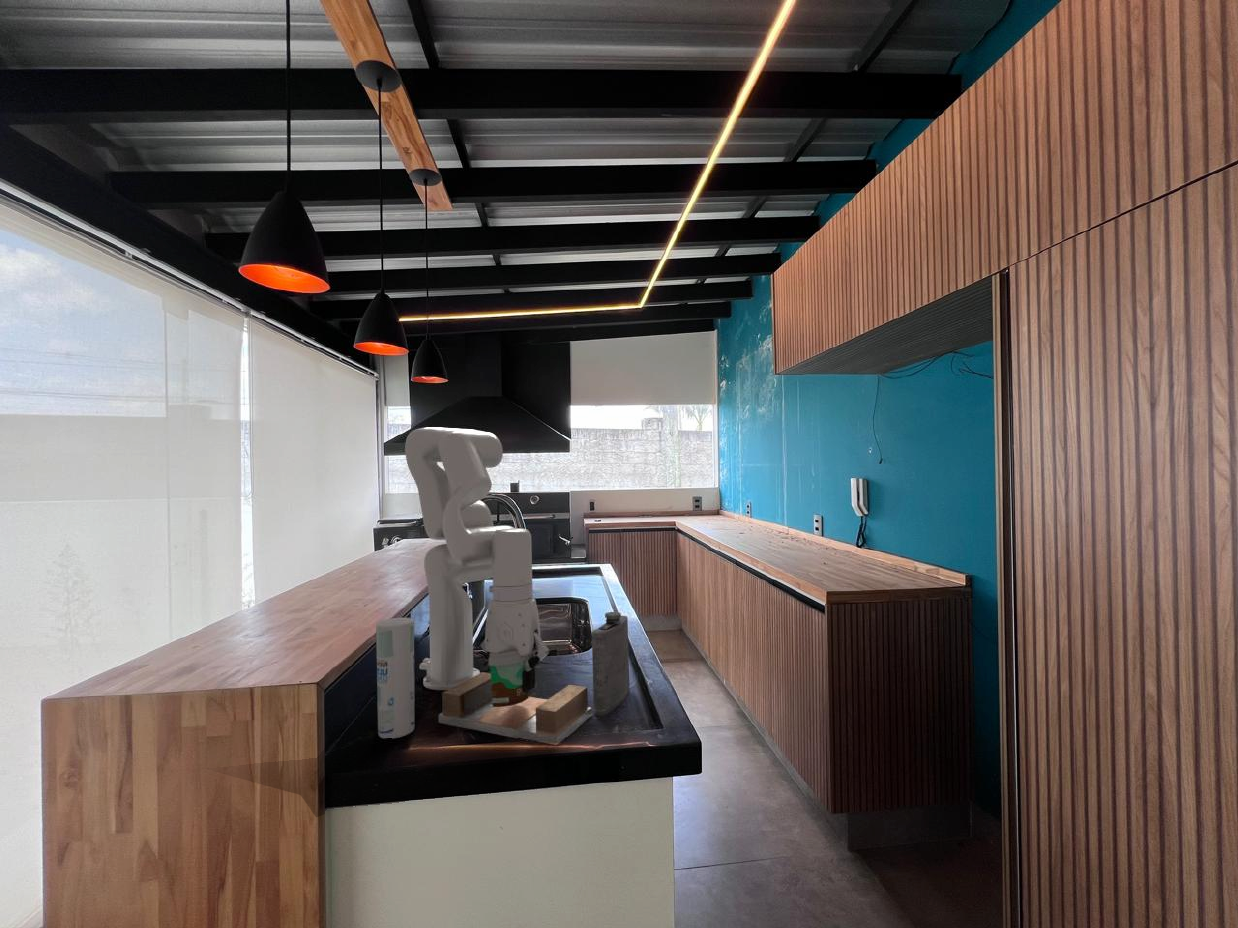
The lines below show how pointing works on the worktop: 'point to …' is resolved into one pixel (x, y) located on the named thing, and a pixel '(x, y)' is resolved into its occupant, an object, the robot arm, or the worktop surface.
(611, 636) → the flask
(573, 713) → the wooden u-shaped base
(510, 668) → the food container
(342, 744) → the worktop surface
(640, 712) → the worktop surface
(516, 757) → the worktop surface
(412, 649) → the spray can
